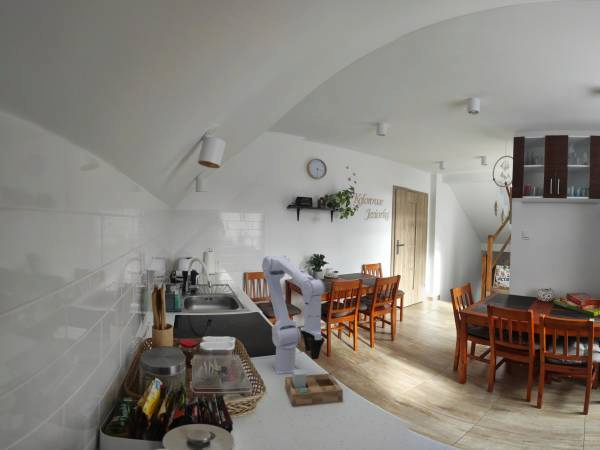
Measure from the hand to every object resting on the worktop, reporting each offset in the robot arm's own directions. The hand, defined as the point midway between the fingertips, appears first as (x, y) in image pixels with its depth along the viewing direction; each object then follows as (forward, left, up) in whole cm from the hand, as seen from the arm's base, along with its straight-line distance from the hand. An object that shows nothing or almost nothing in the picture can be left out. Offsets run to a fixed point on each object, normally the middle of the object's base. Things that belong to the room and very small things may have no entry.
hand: (311, 354), depth 112 cm
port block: (+6, -1, -10) cm, 12 cm away
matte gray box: (+6, -6, -10) cm, 13 cm away
